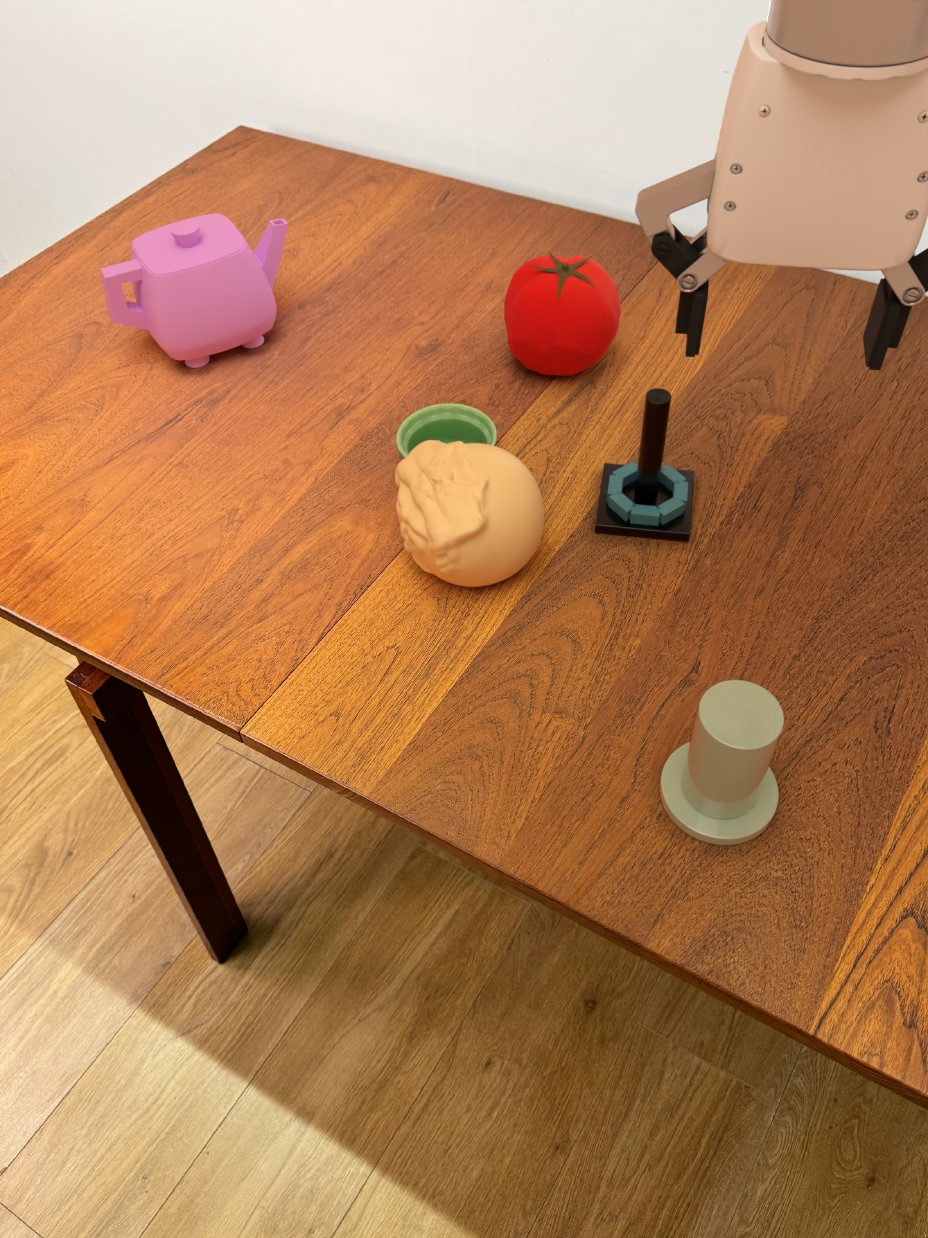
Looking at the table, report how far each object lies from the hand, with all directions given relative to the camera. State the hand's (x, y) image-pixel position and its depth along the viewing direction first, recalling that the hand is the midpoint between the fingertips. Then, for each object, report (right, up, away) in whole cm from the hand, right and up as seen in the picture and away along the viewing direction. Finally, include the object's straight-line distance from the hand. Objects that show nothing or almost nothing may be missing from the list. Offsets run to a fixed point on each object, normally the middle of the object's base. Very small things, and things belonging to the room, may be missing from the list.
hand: (780, 348), depth 55 cm
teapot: (-44, +15, +52) cm, 70 cm away
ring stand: (0, -27, +14) cm, 31 cm away
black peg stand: (-2, -5, +33) cm, 33 cm away
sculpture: (-17, -10, +30) cm, 36 cm away
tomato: (-8, +11, +47) cm, 49 cm away
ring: (-2, -4, +32) cm, 32 cm away
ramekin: (-19, -2, +37) cm, 41 cm away
